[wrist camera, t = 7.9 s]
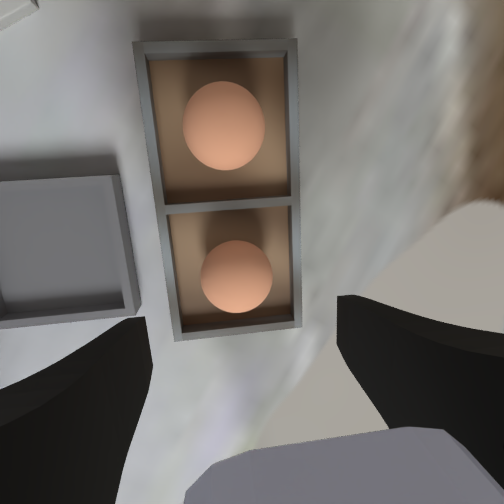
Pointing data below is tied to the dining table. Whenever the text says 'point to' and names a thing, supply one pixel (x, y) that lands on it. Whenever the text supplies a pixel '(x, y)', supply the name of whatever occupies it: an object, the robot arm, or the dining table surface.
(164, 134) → the pair tray
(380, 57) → the dining table surface
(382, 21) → the dining table surface
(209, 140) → the ball
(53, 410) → the robot arm
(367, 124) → the dining table surface
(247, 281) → the terracotta ball
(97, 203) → the shallow grey square tray
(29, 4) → the test tube rack
